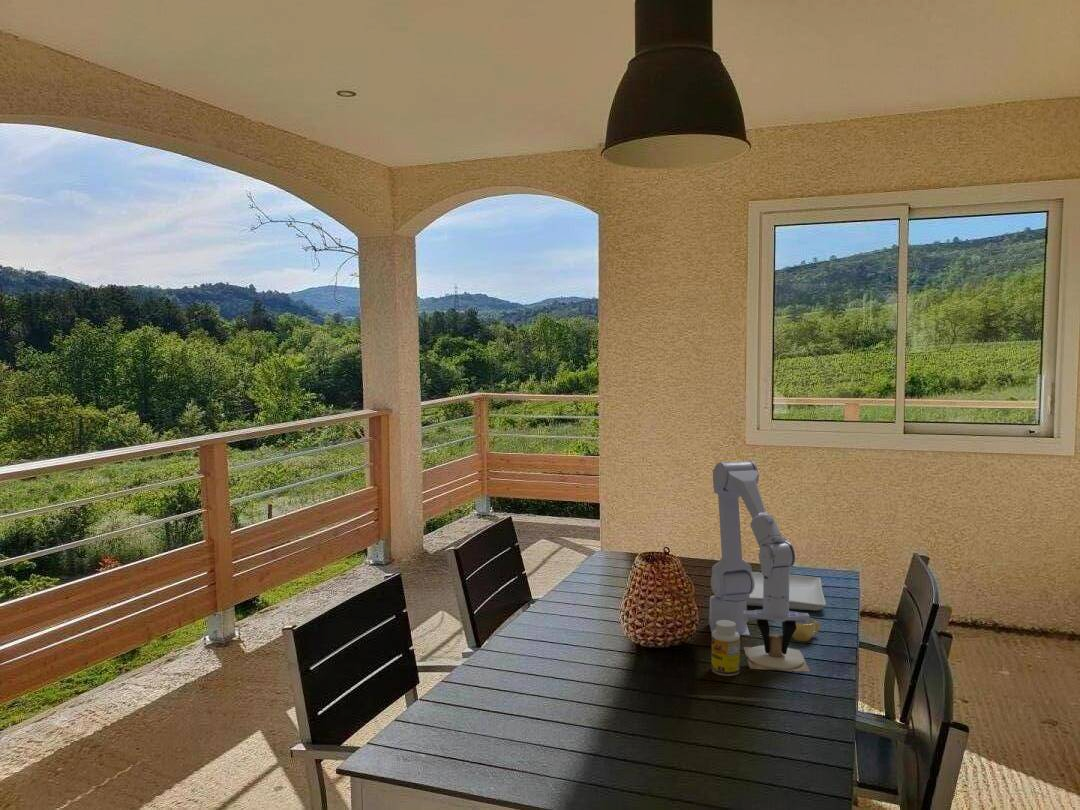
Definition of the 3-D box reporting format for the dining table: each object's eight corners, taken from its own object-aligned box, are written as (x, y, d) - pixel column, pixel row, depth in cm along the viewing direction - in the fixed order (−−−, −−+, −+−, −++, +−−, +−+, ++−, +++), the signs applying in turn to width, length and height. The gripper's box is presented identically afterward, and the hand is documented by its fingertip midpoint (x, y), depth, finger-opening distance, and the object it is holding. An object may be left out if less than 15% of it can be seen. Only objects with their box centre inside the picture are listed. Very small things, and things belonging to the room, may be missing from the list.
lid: (750, 667, 172) (751, 644, 172) (744, 647, 185) (744, 625, 184) (808, 670, 171) (809, 647, 170) (798, 649, 183) (798, 627, 183)
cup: (795, 652, 183) (795, 630, 183) (767, 635, 195) (767, 614, 195) (838, 647, 187) (838, 625, 186) (808, 630, 198) (808, 610, 198)
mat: (749, 671, 172) (749, 668, 172) (743, 649, 185) (743, 646, 185) (810, 674, 170) (810, 671, 170) (799, 652, 183) (799, 649, 183)
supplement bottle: (706, 668, 174) (706, 619, 173) (730, 665, 175) (730, 617, 175) (720, 679, 168) (720, 629, 167) (745, 676, 170) (745, 626, 169)
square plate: (724, 608, 217) (724, 594, 217) (729, 581, 243) (729, 569, 243) (826, 616, 209) (826, 602, 209) (820, 587, 235) (820, 575, 235)
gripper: (745, 598, 174) (745, 657, 175) (812, 601, 172) (811, 660, 172) (742, 589, 181) (741, 645, 182) (806, 591, 179) (805, 648, 179)
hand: (775, 652), depth 178 cm, fingers closed on lid, 3 cm apart
